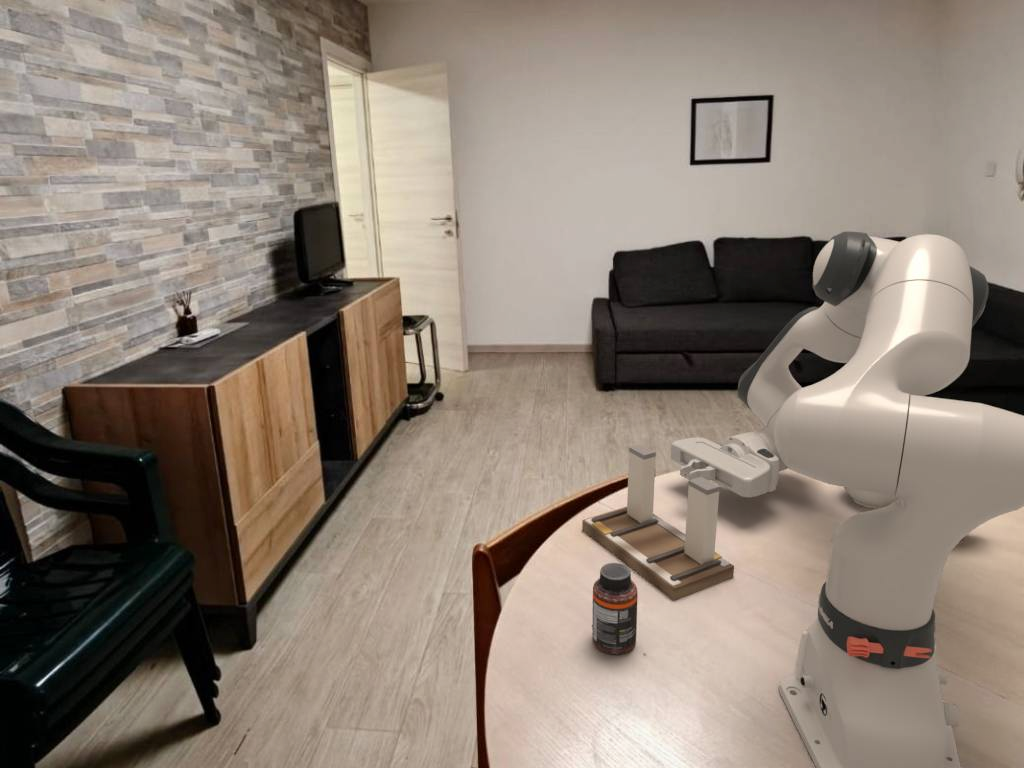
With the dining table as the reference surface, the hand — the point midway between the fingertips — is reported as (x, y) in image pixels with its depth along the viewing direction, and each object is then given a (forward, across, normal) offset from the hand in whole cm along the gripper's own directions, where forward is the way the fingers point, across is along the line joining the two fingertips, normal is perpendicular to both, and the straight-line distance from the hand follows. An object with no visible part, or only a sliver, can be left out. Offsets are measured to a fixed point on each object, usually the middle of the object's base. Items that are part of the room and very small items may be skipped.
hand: (685, 474), depth 130 cm
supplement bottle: (+32, +23, +8) cm, 40 cm away
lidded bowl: (-34, +14, +8) cm, 37 cm away
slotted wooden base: (+13, +7, +8) cm, 17 cm away
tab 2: (+10, +15, +6) cm, 19 cm away
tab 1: (+10, 0, +6) cm, 11 cm away
